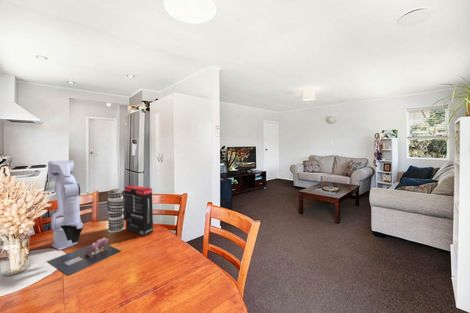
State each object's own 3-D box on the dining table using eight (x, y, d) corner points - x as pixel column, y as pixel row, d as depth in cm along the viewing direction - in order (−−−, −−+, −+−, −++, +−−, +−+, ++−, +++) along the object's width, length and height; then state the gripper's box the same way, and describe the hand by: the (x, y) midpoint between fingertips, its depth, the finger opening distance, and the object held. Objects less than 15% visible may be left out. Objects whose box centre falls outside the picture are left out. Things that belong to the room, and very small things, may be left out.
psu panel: (47, 261, 93) (47, 261, 93) (99, 241, 112) (99, 241, 112) (68, 275, 83) (68, 275, 83) (121, 251, 102) (121, 250, 102)
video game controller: (90, 259, 97) (95, 247, 96) (82, 254, 98) (87, 242, 97) (107, 249, 107) (112, 237, 106) (100, 244, 107) (105, 233, 106)
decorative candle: (114, 226, 133) (113, 187, 131) (128, 227, 132) (127, 188, 130) (104, 232, 124) (102, 190, 122) (118, 233, 123) (117, 191, 121)
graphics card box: (154, 232, 124) (153, 187, 123) (144, 236, 118) (143, 189, 116) (134, 227, 132) (133, 184, 130) (124, 231, 126) (123, 186, 124)
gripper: (53, 210, 92) (54, 240, 93) (68, 216, 85) (70, 248, 86) (71, 206, 98) (73, 234, 99) (87, 211, 91) (88, 242, 92)
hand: (72, 240), depth 93 cm, fingers open, 4 cm apart
